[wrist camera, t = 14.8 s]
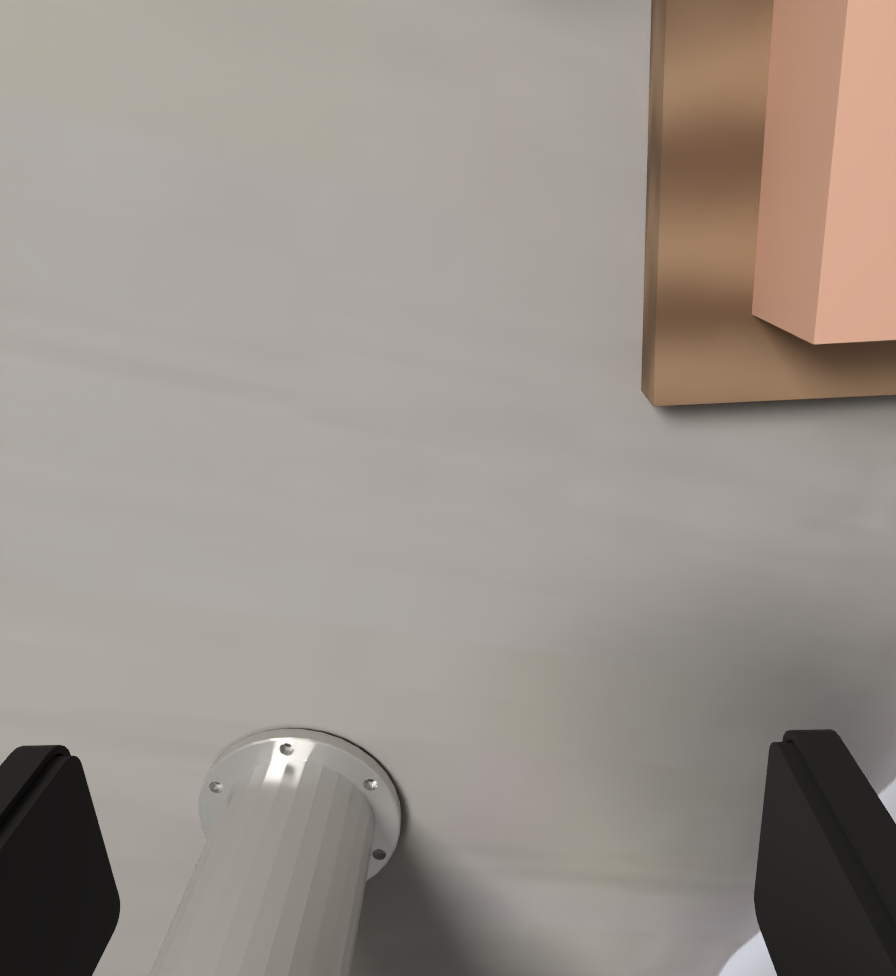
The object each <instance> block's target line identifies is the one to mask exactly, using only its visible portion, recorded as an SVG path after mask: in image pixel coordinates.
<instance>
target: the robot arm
mask: <svg viewBox="0 0 896 976" xmlns="http://www.w3.org/2000/svg"><path fill="white" fill-rule="evenodd" d="M401 817H402V816H401V807H400V800H399V798H398V795H397V792H396V789H395V786H394V785H393V783H392V782H391V780H390V778H389V777H388V775H387V773H386V772H385V771H384V770H383V769H382V768H381V767H380V766H379V764H378V763H377V762H376V761H375V760H374V759H373V758H371V757H370V756H369V755H367V754H366V753H365V752H363V751H362V750H361V749H360V748H358V747H356V746H354V745H352V744H350V743H348V742H347V741H345V740H343V739H340V738H337V737H334V736H331V735H329V734H326V733H322V732H317V731H311V730H305V729H278V730H271V731H265V732H261V733H258V734H255V735H252V736H249V737H247V738H245V739H243V740H241V741H239V742H238V743H236V744H234V745H232V746H231V747H230V748H229V749H227V750H226V751H225V752H224V753H223V754H222V755H221V756H219V758H218V759H217V761H216V762H215V763H214V765H213V766H212V767H211V769H210V771H209V773H208V775H207V777H206V779H205V781H204V783H203V786H202V790H201V793H200V797H199V818H200V822H201V827H202V830H203V832H204V834H205V836H206V839H207V841H206V843H205V846H204V848H203V850H202V853H201V855H200V857H199V860H198V862H197V864H196V867H195V869H194V871H193V874H192V876H191V878H190V881H189V883H188V885H187V888H186V890H185V892H184V895H183V897H182V900H181V902H180V904H179V907H178V909H177V911H176V914H175V916H174V918H173V921H172V923H171V925H170V928H169V930H168V932H167V935H166V937H165V939H164V942H163V944H162V946H161V949H160V951H159V953H158V956H157V958H156V960H155V963H154V965H153V967H152V970H151V972H150V974H149V976H350V972H351V966H352V960H353V954H354V949H355V943H356V937H357V931H358V926H359V920H360V914H361V908H362V903H363V897H364V891H365V885H366V881H368V880H369V879H370V878H372V877H373V876H375V875H376V874H377V873H379V872H380V870H381V869H382V868H383V867H384V866H385V865H386V864H387V863H388V861H389V860H390V858H391V856H392V854H393V853H394V851H395V849H396V846H397V842H398V838H399V835H400V826H401ZM754 903H755V911H756V916H757V920H758V924H759V927H760V930H761V932H762V935H763V938H764V941H765V943H766V946H767V948H768V951H769V954H770V957H771V960H772V962H773V965H774V968H775V970H776V973H777V976H896V824H895V822H894V820H893V819H892V817H891V816H890V814H889V813H888V811H887V810H886V808H885V806H884V805H883V804H882V802H881V800H880V799H879V797H878V796H877V794H876V792H875V791H874V789H873V788H872V786H871V785H870V783H869V782H868V780H867V778H866V777H865V775H864V774H863V772H862V771H861V769H860V768H859V766H858V764H857V763H856V761H855V760H854V758H853V757H852V755H851V753H850V752H849V750H848V749H847V747H846V746H845V744H844V743H843V741H842V739H841V738H840V737H839V735H838V734H837V733H836V732H835V731H833V730H831V729H829V730H789V731H786V732H785V734H784V736H783V741H782V742H773V743H772V744H771V745H770V749H769V757H768V766H767V776H766V785H765V795H764V805H763V814H762V824H761V833H760V843H759V853H758V862H757V872H756V881H755V891H754ZM119 913H120V899H119V894H118V891H117V887H116V884H115V880H114V877H113V873H112V870H111V866H110V863H109V859H108V855H107V852H106V848H105V845H104V841H103V838H102V834H101V831H100V827H99V824H98V820H97V816H96V813H95V809H94V806H93V802H92V799H91V795H90V792H89V788H88V785H87V781H86V778H85V774H84V770H83V767H82V764H81V761H80V759H79V758H78V757H77V756H71V755H70V752H69V750H68V749H67V748H66V747H65V746H61V745H41V746H21V747H18V748H16V749H15V750H14V751H13V752H12V753H11V754H10V755H9V756H8V757H7V758H6V760H5V761H4V762H3V763H2V764H1V766H0V976H92V974H93V972H94V970H95V968H96V966H97V964H98V962H99V960H100V958H101V956H102V954H103V952H104V950H105V948H106V946H107V944H108V942H109V940H110V938H111V936H112V934H113V932H114V930H115V928H116V925H117V922H118V919H119Z"/></svg>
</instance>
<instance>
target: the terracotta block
mask: <svg viewBox="0 0 896 976" xmlns="http://www.w3.org/2000/svg"><path fill="white" fill-rule="evenodd" d="M752 315H754V316H756V317H758V318H761V319H763V320H765V321H767V322H769V323H771V324H773V325H775V326H777V327H779V328H781V329H783V330H785V331H787V332H789V333H791V334H793V335H795V336H797V337H799V338H801V339H803V340H805V341H808V342H810V343H812V344H830V343H848V342H865V341H883V340H896V0H774V8H773V22H772V36H771V50H770V64H769V78H768V92H767V106H766V120H765V134H764V149H763V163H762V177H761V191H760V205H759V219H758V233H757V247H756V261H755V275H754V289H753V304H752Z"/></svg>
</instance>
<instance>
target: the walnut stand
mask: <svg viewBox="0 0 896 976" xmlns="http://www.w3.org/2000/svg"><path fill="white" fill-rule="evenodd" d="M773 8H774V0H652V8H651V46H650V84H649V121H648V159H647V197H646V235H645V273H644V311H643V349H642V387H641V390H642V392H643V393H644V394H645V396H646V397H647V398H648V400H649V401H650V402H651V404H652V405H653V406H669V405H690V404H711V403H731V402H752V401H773V400H794V399H815V398H836V397H857V396H878V395H896V340H883V341H865V342H848V343H830V344H812V343H810V342H808V341H805V340H803V339H801V338H799V337H797V336H795V335H793V334H791V333H789V332H787V331H785V330H783V329H781V328H779V327H777V326H775V325H773V324H771V323H769V322H767V321H765V320H763V319H761V318H758V317H756V316H754V315H752V304H753V289H754V275H755V261H756V247H757V233H758V219H759V205H760V191H761V177H762V163H763V149H764V134H765V120H766V106H767V92H768V78H769V64H770V50H771V36H772V22H773Z"/></svg>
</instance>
